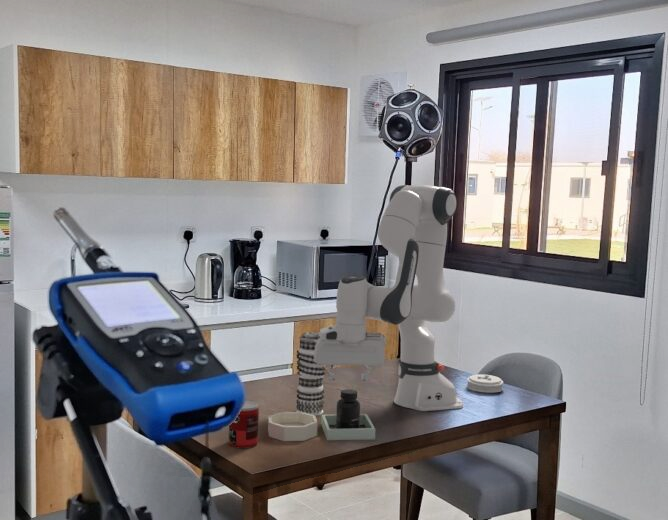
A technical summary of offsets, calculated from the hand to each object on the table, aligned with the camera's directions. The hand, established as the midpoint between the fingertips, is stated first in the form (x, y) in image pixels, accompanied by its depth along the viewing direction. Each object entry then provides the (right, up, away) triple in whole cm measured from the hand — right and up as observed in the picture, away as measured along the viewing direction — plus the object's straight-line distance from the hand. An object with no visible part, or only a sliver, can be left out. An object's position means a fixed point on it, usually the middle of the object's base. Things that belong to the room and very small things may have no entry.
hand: (348, 380), depth 210 cm
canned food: (-29, -16, -10) cm, 34 cm away
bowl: (-16, -15, 0) cm, 22 cm away
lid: (+50, -12, +51) cm, 72 cm away
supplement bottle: (0, -16, +2) cm, 16 cm away
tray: (0, -15, +2) cm, 15 cm away
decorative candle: (-12, -13, +19) cm, 26 cm away
